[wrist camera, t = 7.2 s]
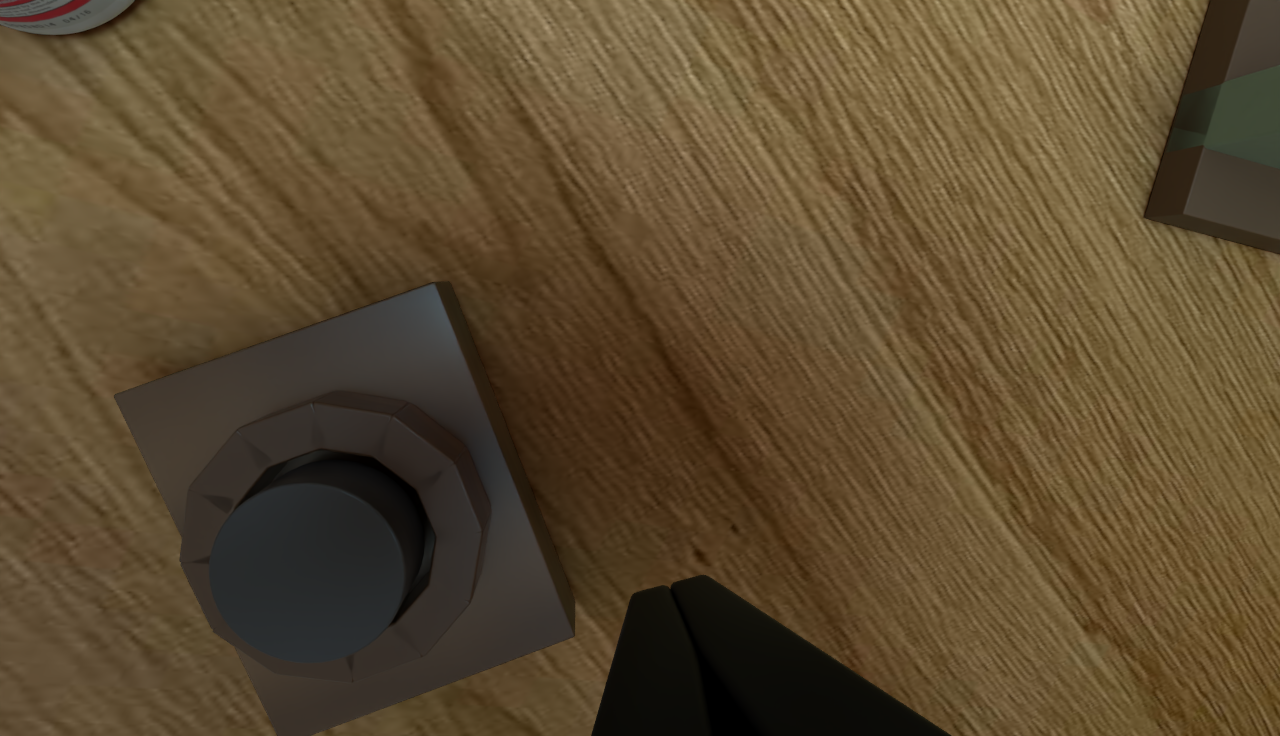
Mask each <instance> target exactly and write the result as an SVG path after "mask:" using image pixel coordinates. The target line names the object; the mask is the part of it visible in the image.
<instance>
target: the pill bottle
mask: <svg viewBox="0 0 1280 736" xmlns="http://www.w3.org/2000/svg"><path fill="white" fill-rule="evenodd" d="M134 1H135V0H0V25H3V26H6V27H9V28H12V29H16V30H19V31H24V32H29V33H35V34H46V35H62V34H72V33H78V32H82V31H86V30H89V29H92V28H95V27H97V26H99V25H102V24H104V23H106V22H108V21H109V20H111V19H113V18H115V17H116V16H118V15H119V14H120V13H122V12H123V11H124V10H125V9H126V8H128V7H129V6H130V5H131V4H132V3H133V2H134Z"/></svg>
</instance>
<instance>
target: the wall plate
mask: <svg viewBox="0 0 1280 736" xmlns="http://www.w3.org/2000/svg"><path fill="white" fill-rule="evenodd" d="M1145 218H1147V219H1151V220H1154V221H1158V222H1162V223H1166V224H1169V225H1173V226H1177V227H1181V228H1184V229H1188V230H1192V231H1196V232H1200V233H1203V234H1207V235H1211V236H1215V237H1218V238H1222V239H1226V240H1230V241H1233V242H1237V243H1241V244H1245V245H1249V246H1252V247H1256V248H1260V249H1264V250H1267V251H1271V252H1275V253H1279V254H1280V0H1211V2H1210V5H1209V9H1208V12H1207V15H1206V18H1205V22H1204V25H1203V28H1202V31H1201V35H1200V38H1199V41H1198V44H1197V48H1196V51H1195V54H1194V57H1193V61H1192V64H1191V67H1190V71H1189V74H1188V77H1187V80H1186V84H1185V87H1184V90H1183V93H1182V97H1181V100H1180V103H1179V106H1178V110H1177V113H1176V116H1175V119H1174V123H1173V126H1172V129H1171V133H1170V136H1169V139H1168V142H1167V146H1166V149H1165V152H1164V155H1163V159H1162V162H1161V165H1160V168H1159V172H1158V175H1157V178H1156V181H1155V185H1154V188H1153V191H1152V195H1151V198H1150V201H1149V204H1148V208H1147V211H1146V214H1145Z"/></svg>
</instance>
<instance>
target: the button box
mask: <svg viewBox="0 0 1280 736" xmlns="http://www.w3.org/2000/svg"><path fill="white" fill-rule="evenodd" d="M114 398H115V400H116V402H117V404H118V406H119V408H120V410H121V412H122V414H123V417H124V419H125V421H126V423H127V425H128V427H129V429H130V431H131V433H132V435H133V437H134V439H135V441H136V443H137V446H138V448H139V450H140V452H141V454H142V456H143V458H144V460H145V462H146V464H147V466H148V468H149V470H150V472H151V475H152V477H153V479H154V481H155V483H156V485H157V487H158V489H159V491H160V493H161V495H162V497H163V499H164V501H165V504H166V506H167V508H168V510H169V512H170V514H171V516H172V518H173V520H174V522H175V524H176V526H177V528H178V531H179V533H180V535H181V537H182V544H181V553H180V562H181V567H182V569H183V571H184V573H185V575H186V577H187V579H188V581H189V583H190V585H191V587H192V590H193V592H194V594H195V596H196V598H197V600H198V602H199V604H200V606H201V608H202V610H203V612H204V614H205V616H206V618H207V620H208V622H209V624H210V627H211V628H212V629H213V632H214V633H216V634H217V635H218V636H220V637H221V638H223V639H224V640H226V641H227V642H229V643H230V644H232V645H233V646H234V647H235V649H236V651H237V653H238V655H239V657H240V659H241V661H242V663H243V665H244V667H245V669H246V671H247V674H248V676H249V678H250V680H251V682H252V684H253V686H254V688H255V690H256V692H257V694H258V696H259V698H260V700H261V703H262V705H263V707H264V709H265V711H266V713H267V715H268V717H269V719H270V721H271V723H272V725H273V727H274V729H275V732H276V734H277V736H311V735H313V734H316V733H319V732H321V731H324V730H327V729H329V728H332V727H335V726H337V725H340V724H343V723H345V722H348V721H351V720H353V719H356V718H359V717H361V716H364V715H367V714H369V713H372V712H375V711H377V710H380V709H383V708H386V707H388V706H391V705H394V704H396V703H399V702H402V701H404V700H407V699H410V698H412V697H415V696H418V695H420V694H423V693H426V692H428V691H431V690H434V689H436V688H439V687H442V686H444V685H447V684H450V683H452V682H455V681H458V680H460V679H463V678H466V677H468V676H471V675H474V674H476V673H479V672H482V671H484V670H487V669H490V668H492V667H495V666H498V665H500V664H503V663H506V662H508V661H511V660H514V659H516V658H519V657H522V656H524V655H527V654H530V653H532V652H535V651H538V650H540V649H543V648H546V647H548V646H551V645H554V644H557V643H559V642H562V641H565V640H567V639H570V638H573V637H574V636H575V599H574V597H573V594H572V592H571V589H570V587H569V584H568V582H567V579H566V576H565V574H564V571H563V569H562V566H561V564H560V561H559V559H558V556H557V553H556V551H555V548H554V546H553V543H552V541H551V538H550V536H549V533H548V531H547V528H546V525H545V523H544V520H543V518H542V515H541V513H540V510H539V508H538V505H537V502H536V500H535V497H534V495H533V492H532V490H531V487H530V485H529V482H528V479H527V477H526V474H525V472H524V469H523V467H522V464H521V462H520V459H519V456H518V454H517V451H516V449H515V446H514V444H513V441H512V439H511V436H510V433H509V431H508V428H507V426H506V423H505V421H504V418H503V416H502V413H501V411H500V408H499V405H498V403H497V400H496V398H495V395H494V393H493V390H492V388H491V385H490V382H489V380H488V377H487V375H486V372H485V370H484V367H483V365H482V362H481V359H480V357H479V354H478V352H477V349H476V347H475V344H474V342H473V339H472V336H471V334H470V331H469V329H468V326H467V324H466V321H465V319H464V316H463V313H462V311H461V308H460V306H459V303H458V301H457V298H456V296H455V293H454V291H453V288H452V285H451V283H450V282H449V281H445V282H432V283H429V284H426V285H424V286H421V287H418V288H415V289H412V290H409V291H407V292H404V293H401V294H398V295H395V296H392V297H390V298H387V299H384V300H381V301H378V302H375V303H373V304H370V305H367V306H364V307H361V308H358V309H356V310H353V311H350V312H347V313H344V314H341V315H339V316H336V317H333V318H330V319H327V320H324V321H321V322H319V323H316V324H313V325H310V326H307V327H304V328H302V329H299V330H296V331H293V332H290V333H287V334H285V335H282V336H279V337H276V338H273V339H270V340H268V341H265V342H262V343H259V344H256V345H253V346H251V347H248V348H245V349H242V350H239V351H236V352H233V353H231V354H228V355H225V356H222V357H219V358H216V359H214V360H211V361H208V362H205V363H202V364H199V365H197V366H194V367H191V368H188V369H185V370H182V371H180V372H177V373H174V374H171V375H168V376H165V377H163V378H160V379H157V380H154V381H151V382H148V383H145V384H143V385H140V386H137V387H134V388H131V389H128V390H126V391H123V392H120V393H117V394H115V395H114ZM323 460H347V461H353V462H357V463H361V464H364V465H367V466H370V467H373V468H375V469H377V470H379V471H381V472H382V473H384V474H385V475H387V476H388V477H390V478H391V479H393V480H394V481H395V482H396V483H397V484H398V485H400V486H401V488H402V489H403V490H404V491H405V492H406V493H407V494H408V496H409V497H410V499H411V500H412V502H413V503H414V505H415V507H416V509H417V511H418V513H419V516H420V519H421V522H422V525H423V531H424V541H425V546H424V556H423V560H422V565H421V567H420V570H419V573H418V575H417V577H416V579H415V581H414V582H413V584H412V586H411V588H410V590H409V592H408V594H407V595H406V597H405V599H404V601H403V603H402V605H401V606H400V608H399V610H398V612H397V614H396V616H395V617H394V619H393V621H392V622H391V623H390V625H389V626H388V627H387V629H386V630H385V631H384V632H383V633H382V634H381V635H380V636H379V637H378V638H377V639H376V640H374V641H373V642H372V643H371V644H369V645H368V646H366V647H365V648H363V649H361V650H360V651H358V652H356V653H353V654H351V655H349V656H347V657H344V658H340V659H337V660H334V661H328V662H322V663H296V662H290V661H285V660H281V659H278V658H275V657H272V656H269V655H267V654H265V653H263V652H260V651H259V650H257V649H255V648H254V647H252V646H250V645H249V644H247V643H246V642H245V641H244V640H242V639H241V638H240V637H239V636H238V635H237V634H236V633H235V632H234V631H233V630H232V629H231V628H230V627H229V626H228V624H227V623H226V622H225V620H224V619H223V617H222V616H221V614H220V612H219V610H218V608H217V606H216V604H215V601H214V599H213V596H212V592H211V588H210V581H209V561H210V555H211V550H212V547H213V544H214V541H215V538H216V536H217V534H218V532H219V530H220V528H221V526H222V525H223V524H224V522H225V521H226V519H227V518H228V517H229V515H230V514H231V513H232V512H233V511H234V510H235V509H236V508H237V507H238V506H240V505H241V504H242V503H243V502H245V501H246V500H247V499H249V498H250V497H252V496H253V495H255V494H256V493H258V492H259V491H261V490H262V489H263V488H265V487H266V486H268V485H269V484H271V483H272V482H274V481H275V480H277V479H278V478H280V477H281V476H283V475H284V474H286V473H288V472H289V471H291V470H293V469H295V468H297V467H300V466H302V465H305V464H308V463H312V462H316V461H323Z"/></svg>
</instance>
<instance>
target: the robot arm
mask: <svg viewBox="0 0 1280 736" xmlns="http://www.w3.org/2000/svg"><path fill="white" fill-rule="evenodd" d="M591 736H951V735H950V734H948V733H947V732H945V731H944V730H942V729H941V728H939V727H938V726H936V725H935V724H933V723H932V722H930V721H928V720H927V719H925V718H924V717H922V716H921V715H919V714H918V713H916V712H915V711H913V710H912V709H910V708H909V707H907V706H906V705H904V704H903V703H901V702H900V701H898V700H896V699H895V698H893V697H892V696H890V695H889V694H887V693H886V692H884V691H883V690H881V689H880V688H878V687H877V686H875V685H874V684H872V683H871V682H869V681H868V680H866V679H864V678H863V677H861V676H860V675H858V674H857V673H855V672H854V671H852V670H851V669H849V668H848V667H846V666H845V665H843V664H842V663H840V662H839V661H837V660H835V659H834V658H832V657H831V656H829V655H828V654H826V653H825V652H823V651H822V650H820V649H819V648H817V647H816V646H814V645H813V644H811V643H810V642H808V641H807V640H805V639H803V638H802V637H800V636H799V635H797V634H796V633H794V632H793V631H791V630H790V629H788V628H787V627H785V626H784V625H782V624H781V623H779V622H778V621H776V620H775V619H773V618H771V617H770V616H768V615H767V614H765V613H764V612H762V611H761V610H759V609H758V608H756V607H755V606H753V605H752V604H750V603H749V602H747V601H746V600H744V599H743V598H741V597H739V596H738V595H736V594H735V593H733V592H732V591H730V590H729V589H727V588H726V587H724V586H723V585H721V584H720V583H718V582H717V581H715V580H714V579H712V578H711V577H709V576H706V575H699V576H695V577H692V578H688V579H684V580H680V581H677V582H674V583H673V584H672V585H671V588H669V587H667V586H665V585H662V586H658V587H654V588H650V589H646V590H642V591H639V592H636V593H634V594H633V595H632V597H631V599H630V602H629V606H628V609H627V613H626V616H625V620H624V623H623V626H622V630H621V633H620V637H619V640H618V644H617V647H616V651H615V654H614V658H613V661H612V665H611V668H610V672H609V675H608V679H607V682H606V686H605V689H604V693H603V696H602V700H601V703H600V707H599V710H598V714H597V717H596V721H595V724H594V728H593V731H592V735H591Z"/></svg>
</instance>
